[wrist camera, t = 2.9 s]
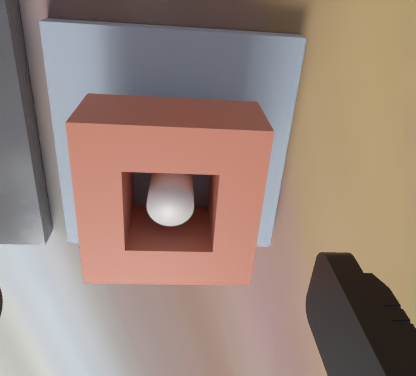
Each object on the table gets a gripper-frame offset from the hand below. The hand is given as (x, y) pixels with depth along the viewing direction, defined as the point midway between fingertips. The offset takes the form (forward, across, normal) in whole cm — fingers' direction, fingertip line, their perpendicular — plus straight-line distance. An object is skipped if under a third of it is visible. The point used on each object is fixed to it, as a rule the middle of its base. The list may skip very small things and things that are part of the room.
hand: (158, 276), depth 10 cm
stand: (+9, 0, 0) cm, 9 cm away
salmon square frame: (+6, 0, 0) cm, 6 cm away
